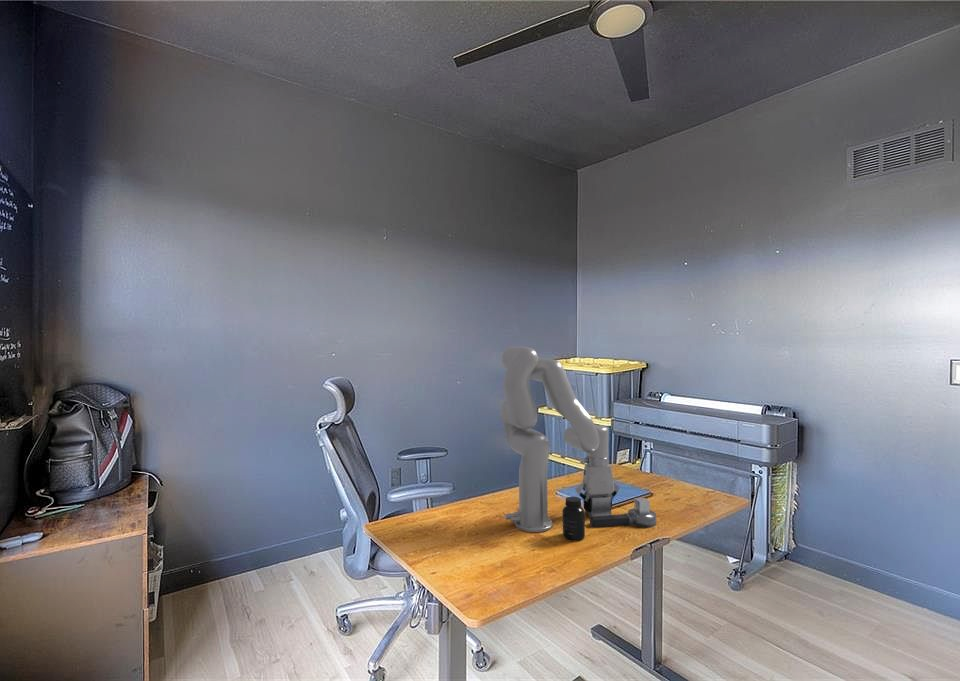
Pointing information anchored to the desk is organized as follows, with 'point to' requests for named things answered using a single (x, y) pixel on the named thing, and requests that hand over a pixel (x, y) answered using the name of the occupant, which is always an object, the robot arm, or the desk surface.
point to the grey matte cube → (599, 505)
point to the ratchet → (628, 516)
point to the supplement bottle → (573, 519)
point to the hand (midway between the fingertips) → (597, 510)
